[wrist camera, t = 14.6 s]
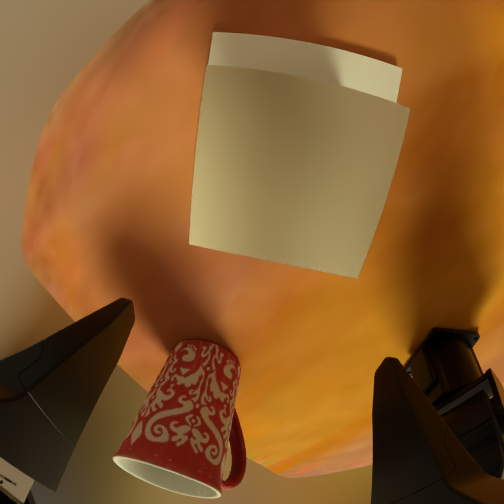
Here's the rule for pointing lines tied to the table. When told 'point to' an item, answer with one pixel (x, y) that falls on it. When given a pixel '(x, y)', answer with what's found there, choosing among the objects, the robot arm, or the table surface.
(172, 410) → the mug
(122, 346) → the robot arm
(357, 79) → the plate
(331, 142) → the maple cube
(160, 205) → the table surface
